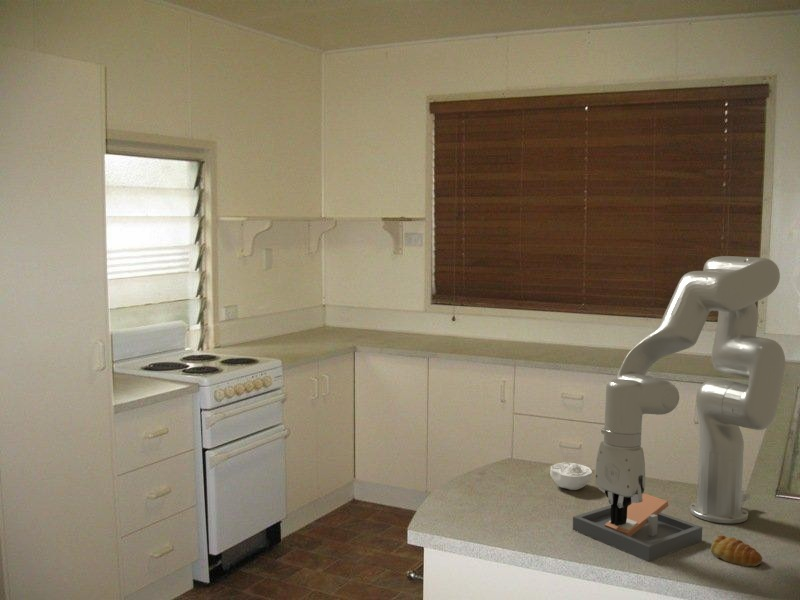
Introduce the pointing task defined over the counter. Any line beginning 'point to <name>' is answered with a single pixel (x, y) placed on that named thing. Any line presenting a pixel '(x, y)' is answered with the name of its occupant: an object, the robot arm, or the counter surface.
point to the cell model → (570, 475)
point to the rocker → (639, 514)
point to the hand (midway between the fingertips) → (618, 523)
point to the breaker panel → (640, 533)
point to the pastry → (735, 551)
